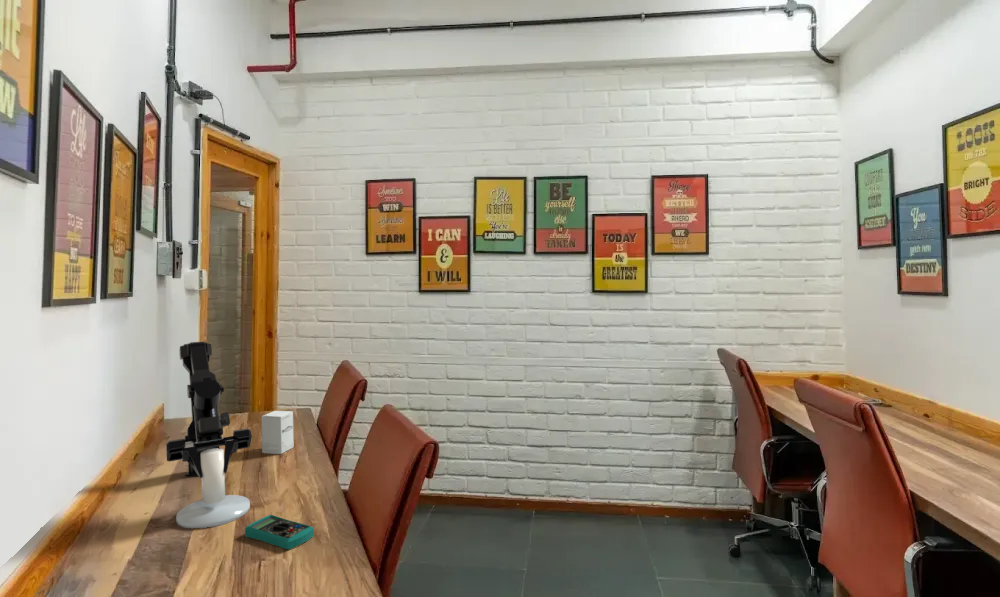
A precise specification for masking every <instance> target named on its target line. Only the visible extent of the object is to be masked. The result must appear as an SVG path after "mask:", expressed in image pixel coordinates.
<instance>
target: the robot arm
mask: <svg viewBox="0 0 1000 597" xmlns="http://www.w3.org/2000/svg"><path fill="white" fill-rule="evenodd" d="M212 356H213V348H212V343H209V342H207V341H191V342H188V343H185V344H183V345H180V346H179V360H181V361H182V366H183V368H184V369H185V370H186V372H188V378H189V384H187V385H186V390H187V391H186V392H187V398H188V399H190V408H191V411H190V412H191V422H190V424H189V425H188V428H187V430H186V435H184V438H179V439H172V440H168V442H166V444H165V445H166V448H165V450H166V452H165V453H166V461H167V462H174V461H182V462H183V463H185V462H187V463H188V466H187V468H188V471H187V472H186V473H185V475H186V477H187V476H188V477H189V476H191V477H194V476H196V477H198V478H199V479H201V478H202V471H201V454H200V453H201V452H203V451H205V450H208V449H215V448H220V447H223V446H224V474H227V473H228V467H229V464H230V460H231V458H232V456H233V454H235V453H237V452H238V450H242V449H248V448H250V447H251V443H252V437H253V435H252V431H251V429H249V428H242V429H235V430H233V431H232V432H233V433H232V434H233V435H232V436H224V437H223V435H224V427H229V426H230V424H231V421H230V420H231V418H230V413H229V411H227V412H221V413H220V411H219V406H220V401H221V400H220V399H221V395H222V394H223V392H224V391H225V388H224V386H223V385H222V384H221V383H220V381H218V380H217V376H216V374H215V373H214V372H212V371H210V365H209V362H210V358H211V357H212Z"/></svg>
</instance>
